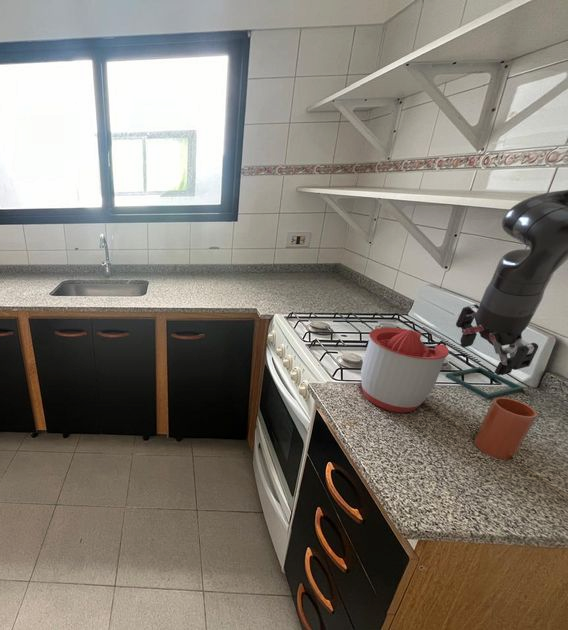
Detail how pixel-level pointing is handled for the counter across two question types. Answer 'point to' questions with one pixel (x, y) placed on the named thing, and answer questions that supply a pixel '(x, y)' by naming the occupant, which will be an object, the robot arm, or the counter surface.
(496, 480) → the counter surface
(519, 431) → the tumbler
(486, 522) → the counter surface
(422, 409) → the counter surface
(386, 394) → the citrus juicer
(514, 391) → the frame
